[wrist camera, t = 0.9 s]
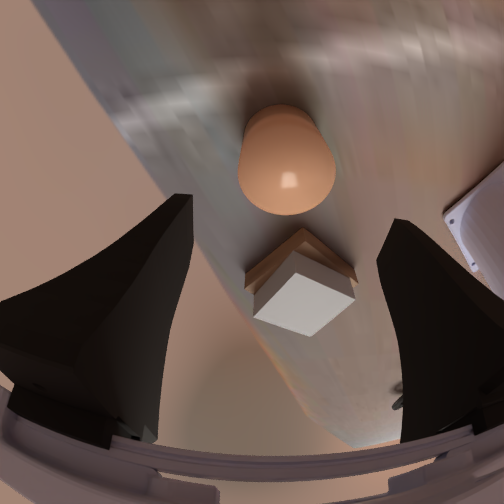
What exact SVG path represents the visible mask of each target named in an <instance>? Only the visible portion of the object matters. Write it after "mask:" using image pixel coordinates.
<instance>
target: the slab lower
mask: <svg viewBox="0 0 504 504" xmlns="http://www.w3.org/2000/svg"><path fill="white" fill-rule="evenodd" d="M292 251H295V252H297V253H299V254H301V255H303V256H305V257H307V258H310V259H312V260H314V261H316V262H318V263H320V264H322V265H324V266H326V267H328V268H330V269H332V270H334V271H336V272H338V273H340V274H342V275H344V276H346V277H348V278H350V281H351V284H352V288H354V287H355V286H357V285H358V280H357V277H356V274H355V270H354V269H353V268H352V267H351V266H349V265H348V264H347V263H346V262H345V261H344V260H342V259H341V258H340V257H339V256H338V255H336V254H335V253H334V252H333V251H332V250H330V249H329V248H328V247H327V246H326V245H324V244H323V243H322V242H321V241H320V240H318V239H317V238H316V237H315V236H314V235H312V234H311V233H310V232H309V231H307V230H306V229H305V228H304V227H302V228H301V229H300V230H298V231H297V232H296V233H295V234H294V235H292V236H291V237H290V238H289V239H288V240H286V241H285V242H284V243H283V244H282V245H280V246H279V247H278V248H277V249H275V250H274V251H273V252H272V253H271V254H269V255H268V256H267V257H266V258H265V259H263V260H262V261H261V262H260V263H258V264H257V265H256V266H255V267H254V268H252V269H251V270H250V271H249V272H247V273H246V274H245V288H244V289H245V290H247V291H249V292H250V293H252V294H254V295H255V294H256V293H257V291H258V290H259V289H260V288H261V287H262V286H263V285H264V283H265V282H266V281H267V280H268V279H269V278H270V277H271V276H272V274H273V273H274V272H275V271H276V270H277V269H278V268H279V266H280V265H281V264H282V263H283V262H284V261H285V259H286V258H287V257H288V256H289V255H290V254H291V253H292Z"/></svg>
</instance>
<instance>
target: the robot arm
mask: <svg viewBox="0 0 504 504" xmlns="http://www.w3.org/2000/svg"><path fill="white" fill-rule="evenodd" d="M443 219H444V221H445V222H446V224H447V226H448V228H449V229H450V231H451V233H452V234H453V236H454V238H455V240H456V242H457V243H458V245H459V247H460V249H461V251H462V253H463V255H464V257H465V258H466V260H467V262H468V264H469V266H470V268H471V270H472V272H476V271H477V270H479V269H480V271H481V273H482V274H483V276H484V278H485V280H486V281H487V283H488V285H489V286H490V288H491V290H492V291H491V290H489V289H488V288H487V287H486V286H484V285H483V284H482V283H481V282H479V281H478V280H477V279H476V278H475V277H473V276H472V275H471V274H470V273H469V272H468V271H467V270H465V269H464V268H463V267H462V266H461V265H460V264H459V263H458V262H457V261H455V260H454V259H453V258H452V257H451V256H450V255H449V254H448V253H447V252H446V251H444V250H443V249H442V248H441V247H440V246H439V245H438V244H437V243H436V242H435V241H433V240H432V239H431V238H430V237H429V236H428V235H427V234H425V233H424V232H423V231H422V230H421V229H419V228H418V227H417V226H415V225H414V224H413V223H411V222H410V221H408V220H402V219H396V218H395V219H394V221H393V223H392V226H391V228H390V231H389V233H388V235H387V237H386V240H385V242H384V244H383V246H382V249H381V251H380V253H379V255H378V257H377V260H376V261H377V267H378V273H379V277H380V282H381V286H382V289H383V292H384V296H385V299H386V302H387V305H388V308H389V312H390V315H391V318H392V322H393V325H394V328H395V332H396V336H397V340H398V346H399V352H400V360H401V369H402V382H403V417H402V430H401V439H400V444H396V445H391V446H386V447H380V448H374V449H367V450H360V451H352V452H344V453H333V454H320V455H302V456H251V455H232V454H220V453H209V452H201V451H192V450H185V449H178V448H172V447H166V446H161V445H155V444H152V443H154V442H155V441H156V440H157V439H158V420H159V406H160V396H161V387H162V378H163V371H164V364H165V356H166V351H167V344H168V339H169V333H170V328H171V324H172V320H173V317H174V314H175V310H176V307H177V304H178V301H179V297H180V294H181V291H182V288H183V285H184V281H185V278H186V275H187V272H188V269H189V265H190V260H191V254H192V249H193V244H194V236H193V195H190V194H174V195H172V196H171V197H170V198H169V199H168V200H166V201H165V202H164V203H163V204H162V205H160V206H159V207H158V208H157V209H156V210H155V211H153V212H152V213H151V214H150V215H149V216H147V217H146V218H145V219H144V220H143V221H141V222H140V223H139V224H138V225H136V226H135V227H134V228H132V229H131V230H130V231H128V232H127V233H126V234H125V235H123V236H122V237H121V238H119V239H118V240H117V241H115V242H114V243H113V244H111V245H110V246H108V247H107V248H106V249H104V250H102V251H101V252H99V253H98V254H96V255H95V256H93V257H92V258H90V259H88V260H86V261H84V262H83V263H81V264H79V265H78V266H76V267H74V268H73V269H71V270H69V271H67V272H65V273H64V274H62V275H60V276H58V277H56V278H54V279H52V280H50V281H48V282H46V283H43V284H41V285H39V286H37V287H35V288H33V289H30V290H28V291H26V292H23V293H21V294H18V295H16V296H13V297H11V298H8V299H6V300H3V301H1V302H0V371H1V372H2V373H3V374H4V375H5V376H7V377H8V378H9V379H10V380H11V381H12V382H13V383H14V388H13V390H12V392H10V391H9V390H7V389H5V388H4V387H2V386H1V385H0V480H2V481H3V482H4V483H5V484H7V485H8V486H10V487H11V488H12V489H14V490H15V491H17V492H18V493H19V494H21V495H22V496H24V497H25V498H27V499H28V500H30V501H31V502H33V503H35V504H220V503H219V501H220V491H219V490H218V489H217V488H216V487H215V486H212V485H204V484H198V483H191V482H186V481H181V480H175V479H170V478H165V477H162V476H161V474H160V473H158V472H157V471H159V472H164V473H170V474H176V475H182V476H189V477H196V478H205V479H216V480H226V481H244V482H294V481H311V480H322V479H333V478H341V477H349V476H355V475H362V474H368V473H373V472H379V471H384V470H388V469H393V468H397V467H401V466H405V465H409V464H413V463H417V462H420V461H424V460H427V459H431V458H434V457H436V459H435V460H434V462H433V463H430V464H427V465H424V466H422V467H420V468H417V469H415V470H412V471H410V472H407V473H404V474H400V475H397V476H394V477H391V478H389V479H388V486H389V491H388V492H387V493H383V494H379V495H374V496H369V497H364V498H358V499H353V500H346V501H340V502H332V503H325V504H504V161H503V162H502V163H501V164H500V165H499V166H498V167H497V168H496V169H495V170H494V171H493V172H491V173H490V174H489V175H488V176H487V177H486V178H485V179H484V180H483V181H481V182H480V183H479V184H478V185H477V186H476V187H475V188H473V189H472V190H471V191H470V192H469V193H468V194H466V195H465V196H464V197H463V198H462V199H461V200H459V201H458V202H457V203H456V204H455V205H453V206H452V207H451V208H450V209H449V210H447V211H446V212H445V213H444V215H443ZM451 219H452V220H451ZM450 220H451V221H450ZM437 456H438V457H437Z"/></svg>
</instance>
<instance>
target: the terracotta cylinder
mask: <svg viewBox="0 0 504 504" xmlns="http://www.w3.org/2000/svg"><path fill="white" fill-rule="evenodd" d="M335 174H336V167H335V161H334V158H333V155H332V153H331V151H330V149H329V148H328V146H327V144H326V142H325V141H324V139H323V137H322V135H321V134H320V132H319V130H318V128H317V127H316V125H315V123H314V122H313V120H312V119H311V118H310V116H309V115H308V114H306V113H305V112H304V111H302V110H301V109H299V108H297V107H294V106H291V105H285V104H277V105H271V106H268V107H265V108H263V109H261V110H260V111H258V112H257V113H256V114H254V115H253V116H252V118H251V119H250V120H249V122H248V123H247V126H246V128H245V131H244V136H243V142H242V148H241V153H240V159H239V165H238V179H239V183H240V186H241V189H242V191H243V193H244V194H245V196H246V197H247V198H248V199H249V200H250V201H251V202H252V203H253V204H254V205H255V206H257V207H259V208H260V209H262V210H264V211H267V212H269V213H273V214H278V215H294V214H299V213H302V212H306V211H308V210H310V209H312V208H314V207H315V206H317V205H318V204H319V203H321V202H322V201H323V200H324V199H325V198H326V196H327V195H328V194H329V192H330V190H331V188H332V186H333V184H334V180H335Z"/></svg>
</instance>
